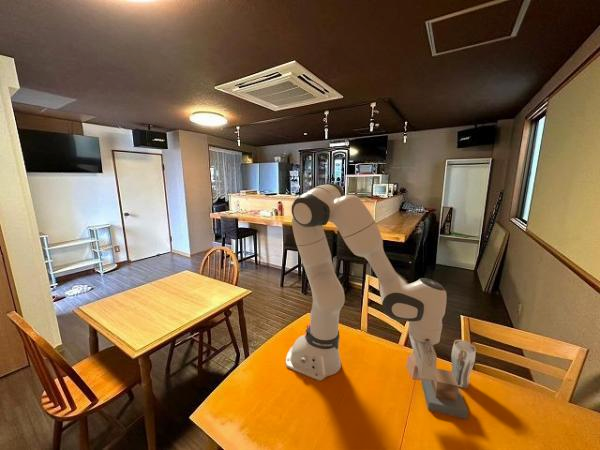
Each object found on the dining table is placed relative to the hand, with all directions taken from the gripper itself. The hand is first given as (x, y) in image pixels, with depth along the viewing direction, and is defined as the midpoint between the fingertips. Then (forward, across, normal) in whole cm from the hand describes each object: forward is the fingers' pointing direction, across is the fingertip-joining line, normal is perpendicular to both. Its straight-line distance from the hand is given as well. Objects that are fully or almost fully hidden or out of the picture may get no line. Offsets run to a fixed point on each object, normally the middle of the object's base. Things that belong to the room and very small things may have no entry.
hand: (417, 368), depth 77 cm
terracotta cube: (+2, 0, 0) cm, 2 cm away
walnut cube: (+10, +5, -10) cm, 15 cm away
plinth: (+13, +5, -10) cm, 17 cm away
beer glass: (+13, +15, -19) cm, 27 cm away
